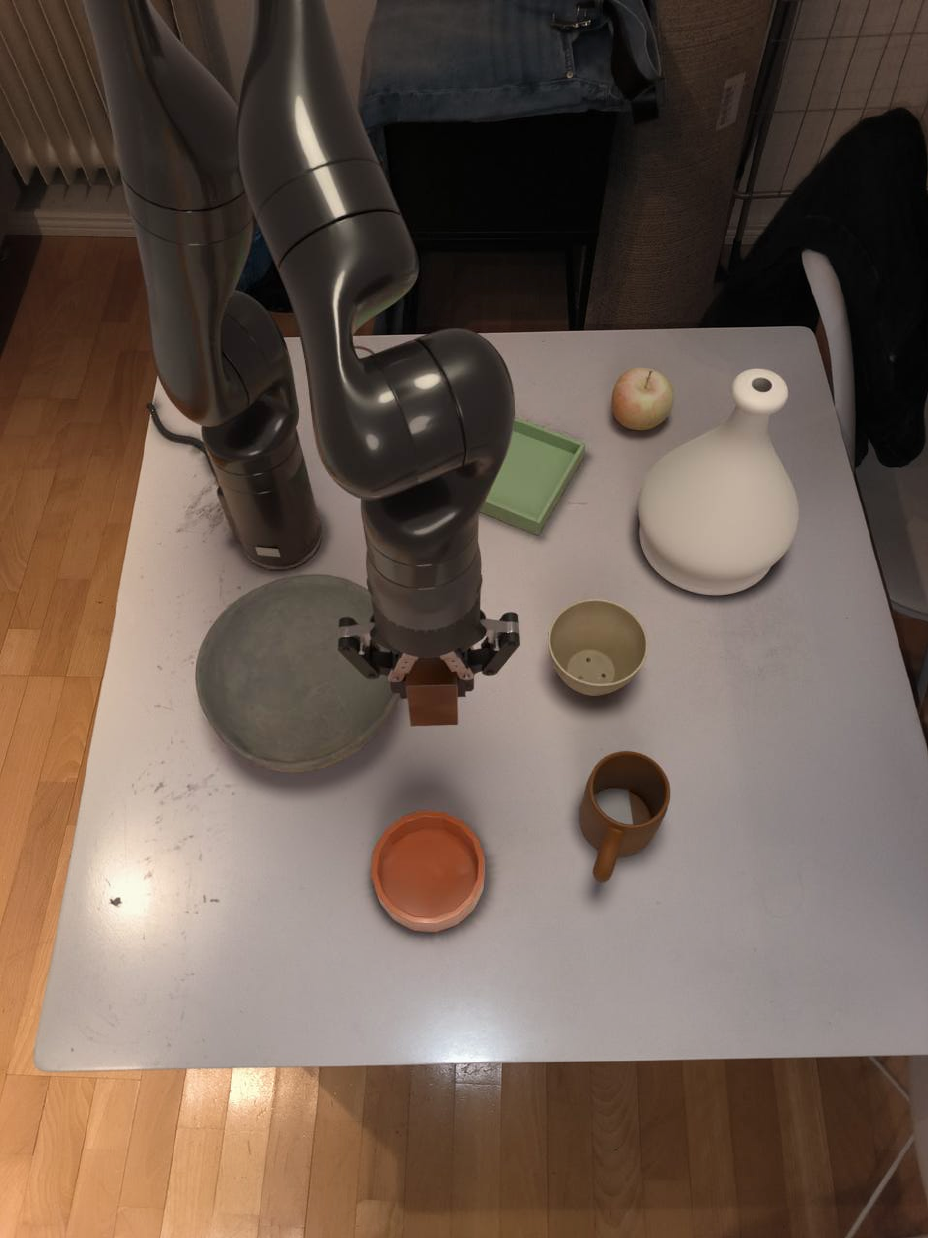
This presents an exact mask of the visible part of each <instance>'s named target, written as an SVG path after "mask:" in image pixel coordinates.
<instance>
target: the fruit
mask: <svg viewBox="0 0 928 1238" xmlns="http://www.w3.org/2000/svg"><path fill="white" fill-rule="evenodd" d="M610 398H611V400H610V402H611V410H612V413H613V416H614V418H615V419H616V420H617V422H618V423H619V424H621V426H623V427H625V428H627V429H631V430H634V431H635V430H636V431H646V430H650V429H653V428H655V427H656V426H658V425H660V424H661V423H663V422H664V421H665V420H666V419H667V418H668V416H669V415H670V413H671V411H672V410H673V407H674V402H675V389H674V386H673V385H672V383H671V381H670V379H669V378H668V377H667V376H666V375H665V374H664V373H662V372H661V371H659V370H656V369H652V368H647V367H646V368H645V367H634V368H631V369H628V370H626V371H624V372H623V373H622V374H621V375H620V376H619V377H618V379H616V382H615V383H614V386H613V389H612V392H611V397H610Z"/></svg>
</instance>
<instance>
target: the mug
mask: <svg viewBox="0 0 928 1238" xmlns="http://www.w3.org/2000/svg"><path fill="white" fill-rule="evenodd" d="M610 788H619V789H620V788H621V789H625V790H627V791H628V796H629V804H630V812H631V818H632V824H631V823H630V824H628V823H623V822H621V821H620V822H619V821H617V820H615V819H613V818H612V817H610V816H608V814H607V813H605V812H604V810H602V808H601V807H600V805H599V803H598V802H597V799H596V796H595V794H597V793H599V792H601V791H603V790H605V789H610ZM670 801H671V786H670V781H669V779H668V776H667V775H666V773H665V771H664V769H663V768H662V767H661V766H660V765H659V763H657V762H656V761H655V760H654V759H653V758H651V757H649V756H647V755H646V754H643V753H640V752H637V751H632V750H624V751H623V750H622V751H616V752H613V753H610V754H607V755H606V756H604V757H603V758H601V759H600V760H599V761H598V762H597V763H596V764H595V766H594V767H593V769H592V770H591V772H590V775H589V776H588V778H587V780H586V784H585V787H584V791H583V795H582V799H581V803H580V806H579V825H580V828H581V831H582V834H583V835H584V837H585V839H586V840H587V842H588V843H589V844H590V845H591V846H592V847H593V848H594V849H596V850H597V851H598V852H597V855H596V858H595V862H594V864H593V868H592V876H593V878H594V880H595V881H596V882H598V883H606V882H608V881H609V880H610V879H611V878H612V875H613V872H614V870H615V866H616V863H617V861H618V858H623V857H630V856H633V855H635V854H638V853H640V852H641V851H643V850H644V849H645V848H646V847H647V846H649V844H650V843H651V842H652V840H653V839H654V837H655V835H656V834H657V831H658V830H659V828H660V826H661V824H662V823H663V821H664V819H665V817H666V814H667V812H668V809H669V804H670Z"/></svg>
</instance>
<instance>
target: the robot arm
mask: <svg viewBox="0 0 928 1238" xmlns="http://www.w3.org/2000/svg"><path fill="white" fill-rule="evenodd" d="M82 4H83V6H84V11H85V14H86V18H87V21H88V25H89V28H90V32H91V37H92V40H93V44H94V49H95V53H96V58H97V62H98V66H99V69H100V70H99V71H100V75H101V80H102V85H103V90H104V95H105V100H106V106H107V111H108V116H109V121H110V125H111V132H112V138H113V142H114V143H113V144H114V148H115V155H116V160H117V165H118V171H119V174H120V178H121V182H122V183H121V184H122V188H123V192H124V196H125V201H126V206H127V209H128V212H129V216H130V219H131V223H132V227H133V231H134V235H135V238H136V243H137V248H138V252H139V259H140V263H141V269H142V273H143V279H144V285H145V291H146V303H147V304H146V305H147V314H148V315H147V316H148V328H149V329H148V330H149V339H150V340H149V343H150V352H151V357H152V362H153V366H154V369H155V372H156V375H157V378H158V381H159V383H160V385H161V387H162V389H163V390H164V392H165V393H164V394H166V396H167V397H168V399H169V400H170V402H171V403H172V405H173V406H174V407H175V408H176V410H177V411H178V412H180V414H182V416H184V417H185V418H186V419H188V420H189V421H190V422H192V423H194V424H197V425H199V426H201V427H200V429H201V437H202V440H201V439H200V438H197V437H194V436H191V435H183V434H178V433H174V432H172V431H170V430H168V429H167V428H166V427H165V426H164V424H163V423H162V421H161V419H160V417H159V414H158V411H157V409H156V406H155V405H154V404H153V403H151V402H147V403H146V404H145V407H146V408H147V409H148V410H149V414H150V416H151V415H152V416H151V418H152V421H153V422H154V424H155V426H156V428H157V429H158V431H159V432H160V433H161V434H162V436H164V437H166V438H168V439H170V440H173V441H177V442H182V443H188V444H192V445H194V446H197V447H198V448H199V449H201V450H202V451H203V453H204V455H205V457H206V459H207V462H208V464H209V467H210V469H211V471H212V473H213V475H214V477H215V478H216V479H217V481H218V484H219V486H218V487H217V489H216V496H217V498H218V500H219V502H220V503H219V504H220V505H221V508H222V511H223V514H224V516H225V518H226V521H227V523H228V526H229V529H230V531H231V535H232V536H233V539H234V542H236V543H237V544H240V545H241V549H242V550H243V552H244V555H245V556H246V557H247V559H249V561H251V562H252V563H253V564H255V565H257V566H258V567H261V568H263V569H267V570H273V571H284V570H289V569H293V568H296V567H298V566H300V565H302V564H304V563H306V562H307V561H308V560H310V559H311V558H312V557H314V555H315V554H316V552H317V551H318V549H319V548H320V545H321V543H322V540H323V526H322V522H321V519H320V518H319V514H318V510H317V509H318V508H317V505H316V500H315V497H314V492H313V489H312V485H311V481H310V475H309V473H308V469H307V468H308V467H307V465H306V459H305V456H304V452H303V448H302V445H301V440H300V436H299V432H298V428H297V427H298V424H299V419H300V406H299V401H298V395H297V388H296V383H295V375H294V369H293V363H292V359H291V355H290V352H289V347H288V345H287V342H286V340H285V337H284V335H283V333H282V331H281V328H280V327H279V325H278V324H277V322H276V320H275V319H274V317H273V316H272V315H271V313H270V312H269V311H268V309H266V307H265V306H264V305H263V304H261V302H260V301H258V300H257V299H256V298H254V297H253V296H251V295H249V294H248V293H245V292H244V291H241V290H236V287H237V285H238V283H239V281H240V278H241V276H242V274H243V271H244V269H245V266H246V263H247V261H248V258H249V256H250V253H251V248H252V245H253V242H254V239H255V236H256V233H257V227H258V229H259V231H260V233H261V235H262V238H263V241H264V242H265V245H266V247H267V249H268V251H269V252H268V253H269V255H270V256H271V259H272V262H273V263H274V265H275V268H276V270H277V273H278V274H279V277H280V279H281V281H282V284H283V287H284V289H285V292H286V294H287V297H288V300H289V303H290V306H291V310H292V313H293V316H294V320H295V323H296V326H297V330H298V335H299V339H300V345H301V349H302V355H303V359H304V365H305V372H306V379H307V387H308V388H307V389H308V397H309V404H310V405H309V406H310V413H311V422H312V429H313V435H314V440H315V446H316V449H317V453H318V455H319V458H320V461H321V463H322V465H323V467H324V468H325V471H326V472H327V474H328V475H329V477H330V478H331V479H332V481H334V482H335V484H337V485H338V486H339V487H340V488H341V489H342V490H344V491H345V492H346V493H348V494H350V496H352V497H355V498H357V499H360V513H361V520H362V526H363V532H364V539H365V546H366V557H365V569H366V576H367V577H366V585H367V586H366V587H367V589H368V590H369V593H370V595H371V600H372V606H373V612H374V614H373V615H372V616H371V619H370V622H367V623H362V624H358V623H357V622H356V621H355V620H354V619H353V618H350V617H343V618H340V619H339V629H338V651H339V652H340V653H341V654H342V655H343V656H344V657H345V658H346V659H347V660H348V661H349V662H350V663H351V664H352V665H353V666H354V667H355V668H356V669H357V670H358V671H359V672H360V673H361V674H362V675H363V676H364V677H365V678H367V679H377V678H379V677H380V675H386V676H388V680H389V681H390V685H391V691H392V692H393V693H394V694H396V693H400V697H399V700H407V693H406V673H408V674H409V672H410V670H411V668H412V666H413V664H414V662H415V661H416V660H426V659H437V660H444V661H445V662H446V664H447V665H448V667H449V668H450V670H451V672H456V674H457V684H458V698H466V692H472V691H473V690H474V689H475V675H476V674H478V673H481V674H482V675H484V676H487V677H492V676H496V675H497V674H498V673H499V672H500V671H501V670H502V668H503V667H504V666H505V664H506V663H507V662H508V661H509V659H510V658H512V656H513V654H515V652H516V651H517V650H518V649H519V647H520V646H521V638H520V637H521V636H520V635H521V634H520V623H519V622H520V621H519V614H518V613H516V612H512V611H511V612H506V613H505V612H504V613H503V614H502V615H501V617H500V618H499V619H492V618H487V615H486V613H485V612H484V611H483V610H482V609H481V597H482V596H481V595H482V586H483V581H484V579H483V574H482V553H481V548H480V547H481V546H480V544H479V528H480V527H479V521H480V512H479V511H480V510H481V508H482V506H483V505H484V503H485V501H486V499H487V496H488V494H489V492H490V490H491V488H492V486H493V484H494V481H495V479H496V477H497V475H498V473H499V471H500V469H501V467H502V464H503V462H504V460H505V458H506V455H507V452H508V450H509V447H510V443H511V439H512V435H513V430H514V423H515V417H516V396H515V395H516V394H515V389H514V383H513V380H512V377H511V373H510V371H509V368H508V366H507V363H506V362H505V360H504V357H503V356H502V354H501V353H500V352H499V351H498V349H497V348H496V347H495V346H494V345H493V344H492V342H490V341H489V340H488V339H487V338H485V337H484V336H483V335H481V334H479V333H478V332H476V331H474V330H470V329H467V328H463V327H448V328H443V329H438V330H436V331H432V332H430V333H426V334H424V335H421V336H418V337H415V338H414V339H412V340H411V339H409V340H408V341H405V342H401V343H400V344H397V345H395V346H392V347H389V348H386V349H383V350H381V351H378V352H374V353H375V354H372V355H369V356H367V357H363V358H358V356H357V354H356V351H355V348H354V346H355V344H354V334H356V332H357V330H358V329H359V328H361V327H362V326H363V325H364V324H366V323H367V322H369V320H371V319H373V318H374V317H375V316H377V315H378V314H380V313H382V312H383V311H385V310H387V309H388V308H389V307H391V306H392V305H394V304H395V303H397V302H398V301H399V300H400V299H402V298H403V297H404V296H405V295H407V293H409V291H411V289H412V287H413V286H414V285H415V284H416V281H417V279H418V277H419V273H420V272H419V271H420V260H419V256H418V252H417V248H416V246H415V243H414V241H413V238H412V235H411V233H410V231H409V228H408V225H407V223H406V221H405V219H404V218H403V215H402V212H401V210H400V207H399V204H398V202H397V200H396V197H395V195H394V193H393V191H392V188H391V186H390V184H389V181H388V179H387V176H386V174H385V172H384V170H383V167H382V165H381V163H380V160H379V158H378V155H377V153H376V151H375V149H374V147H373V144H372V142H371V140H370V137H369V135H368V132H367V129H366V127H365V125H364V121H363V119H362V115H361V114H360V111H359V108H358V105H357V103H356V100H355V97H354V94H353V91H352V88H351V86H350V82H349V79H348V76H347V73H346V70H345V66H344V63H343V60H342V56H341V54H340V50H339V45H338V42H337V37H336V34H335V30H334V27H333V22H332V20H331V15H330V13H329V9H328V4H327V1H326V0H251V21H250V30H249V31H250V32H249V40H248V47H247V53H246V59H245V67H244V72H243V77H242V83H241V88H240V95H239V102H238V104H237V103H236V101H235V100H234V99H233V98H232V96H231V95H230V93H229V92H228V91H227V90H226V89H225V88H224V86H223V85H222V84H221V83H220V82H219V81H218V79H217V78H215V76H213V74H212V73H211V72H210V71H209V70H208V69H207V68H206V67H205V66H204V65H203V64H202V63H201V62H200V61H199V60H198V59H197V58H196V57H195V56H194V55H193V54H192V53H191V51H189V49H188V48H186V47H185V45H184V44H183V43H182V42H181V40H180V39H178V38H177V36H176V35H175V34H174V32H173V31H172V29H170V27H169V26H168V24H167V23H166V22H165V20H164V19H163V18H162V16H161V15H160V13H159V12H158V11H157V9H156V8H155V6H154V4H153V3H152V1H151V0H82ZM152 410H153V411H152ZM482 640H483V641H482ZM481 641H482V642H481ZM479 642H481V644H480V648H476V649H474V648H473V646H475V645H476V644H478V643H479ZM376 643H377V644H379V645H381V646H382V647H384V648H386V649H388V652H382V651H380V647H379V646H378V645H377V644H376Z"/></svg>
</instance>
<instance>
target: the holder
mask: <svg viewBox="0 0 928 1238" xmlns="http://www.w3.org/2000/svg"><path fill="white" fill-rule="evenodd" d="M481 845H482V844H481V842H480V838H478V836H477V835H476V834H475V833H474V832H473V830H472V829H471V828H470V826H468V824H467V823H466V822H464V820H462V819H459V818H457V817H455V816H453V815H451V814H449V813H447V812H445V811H433V810H420V811H417V812H414V813H411V814H408V815H404V816H402V817H400V818H399V819H398V820H396V821H395V822H393V824H391V825H390V826H389V827H387V828H385V830H384V832H383V833H382V835H381V837H380V838H379V840H378V842H377V844H376V846H375V847H374V849H373V852H372V859H371V867H370V875H371V879H372V882H373V886H374V890H375V894H376V896H377V899H378V901H379V903H380V905H381V906H382V908H383V909H384V910H385V912H386V913H387V914H388V915H389V916H390V918H391V919H392V920H393V921H394V922H396V923H398V924H400V925H401V926H403V927H406V928H408V929H409V930H411V931H415V932H424V933H425V932H427V933H438V932H441V931H444V930H448V929H450V928H453V927H455V926H456V927H457V925H459V924H460V923H461V922H462V921H464V920H465V919H466V918H467V917H468V916H469V915H471V914H472V913H473V911H474V910H475V908H476V906H477V905H478V902H479V900H480V899H481V896H482V894H483V893H484V890H485V889H484V888H485V875H486V857H485V854H484V851H483V848H482V846H481Z"/></svg>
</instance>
